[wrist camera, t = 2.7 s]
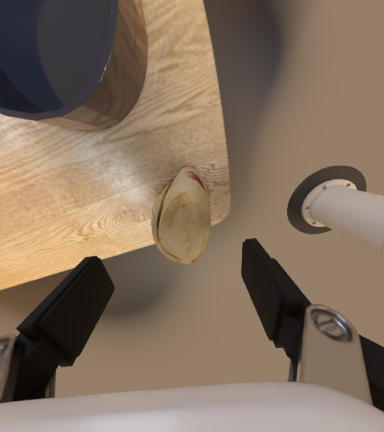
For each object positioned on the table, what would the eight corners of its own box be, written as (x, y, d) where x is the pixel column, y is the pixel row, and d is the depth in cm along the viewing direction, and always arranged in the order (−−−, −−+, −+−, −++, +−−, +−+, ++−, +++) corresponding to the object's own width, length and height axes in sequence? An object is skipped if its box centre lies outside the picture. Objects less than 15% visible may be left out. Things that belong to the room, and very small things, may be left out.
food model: (199, 207, 33) (211, 277, 14) (170, 205, 32) (146, 274, 14) (204, 163, 28) (229, 184, 10) (171, 160, 28) (138, 177, 10)
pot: (115, -145, 15) (1, -597, 6) (162, 121, 25) (146, 104, 16) (-90, -101, 16) (-458, -432, 7) (35, 139, 26) (-46, 132, 17)
